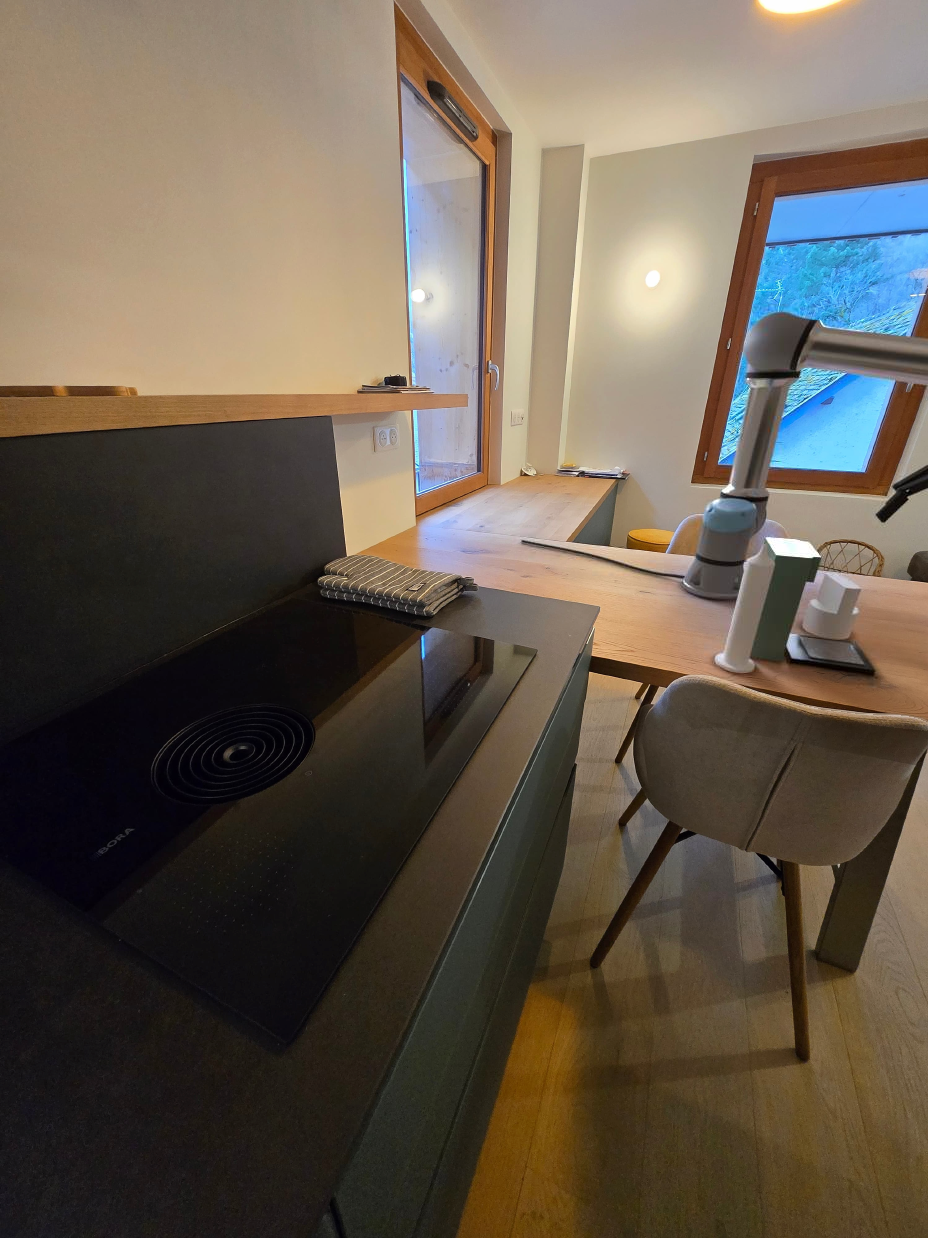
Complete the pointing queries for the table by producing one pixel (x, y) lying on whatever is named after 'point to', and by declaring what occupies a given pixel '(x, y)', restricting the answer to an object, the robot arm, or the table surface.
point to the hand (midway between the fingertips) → (908, 524)
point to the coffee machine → (780, 609)
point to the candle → (747, 614)
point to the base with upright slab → (833, 608)
